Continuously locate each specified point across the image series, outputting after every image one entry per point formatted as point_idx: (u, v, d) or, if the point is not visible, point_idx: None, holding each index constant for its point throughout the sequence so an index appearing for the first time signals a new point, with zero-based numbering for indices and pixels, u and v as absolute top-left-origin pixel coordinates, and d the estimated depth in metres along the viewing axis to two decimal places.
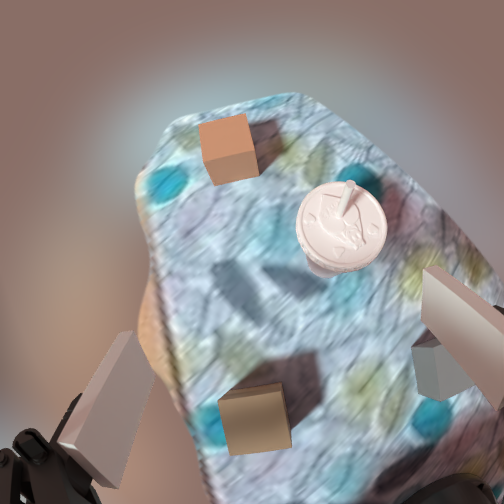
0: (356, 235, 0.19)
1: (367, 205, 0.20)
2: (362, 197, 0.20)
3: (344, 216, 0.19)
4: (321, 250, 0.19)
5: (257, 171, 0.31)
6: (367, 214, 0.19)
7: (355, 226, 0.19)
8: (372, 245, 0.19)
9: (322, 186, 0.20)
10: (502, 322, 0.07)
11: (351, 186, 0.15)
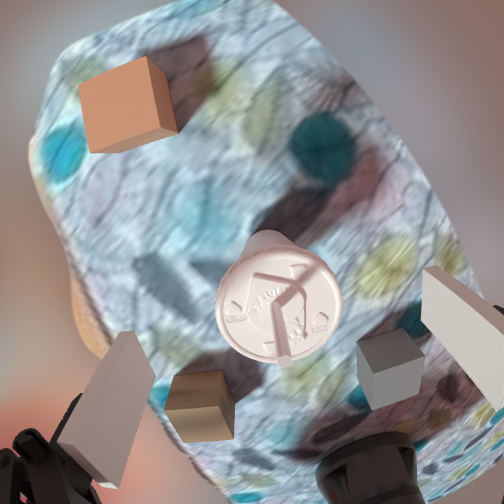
0: (295, 332, 0.14)
1: (319, 287, 0.14)
2: (314, 276, 0.14)
3: (282, 309, 0.14)
4: (248, 345, 0.15)
5: (174, 133, 0.20)
6: (317, 300, 0.14)
7: (296, 320, 0.14)
8: (315, 338, 0.15)
9: (254, 260, 0.14)
10: (502, 322, 0.07)
11: (285, 361, 0.10)
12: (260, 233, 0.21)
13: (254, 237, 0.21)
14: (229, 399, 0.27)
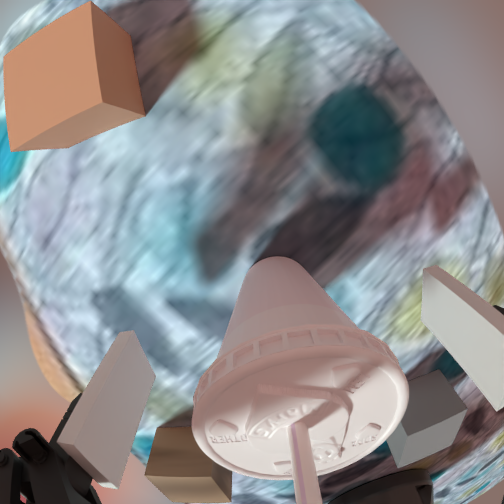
0: (327, 452, 0.07)
1: (377, 393, 0.07)
2: (371, 379, 0.07)
3: (309, 430, 0.07)
4: (248, 466, 0.08)
5: (136, 114, 0.12)
6: (368, 410, 0.07)
7: (330, 440, 0.07)
8: (355, 451, 0.08)
9: (262, 362, 0.06)
10: (502, 322, 0.07)
11: None
12: (266, 265, 0.14)
13: (257, 273, 0.14)
14: None
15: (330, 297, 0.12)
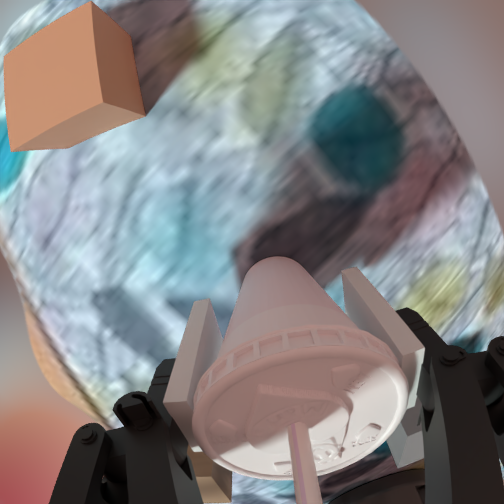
0: (327, 452, 0.07)
1: (377, 394, 0.07)
2: (372, 379, 0.07)
3: (309, 431, 0.07)
4: (248, 466, 0.08)
5: (136, 114, 0.12)
6: (369, 410, 0.07)
7: (330, 441, 0.07)
8: (355, 451, 0.08)
9: (262, 362, 0.06)
10: (395, 325, 0.09)
11: None
12: (266, 265, 0.14)
13: (258, 273, 0.14)
14: None
15: (330, 297, 0.11)
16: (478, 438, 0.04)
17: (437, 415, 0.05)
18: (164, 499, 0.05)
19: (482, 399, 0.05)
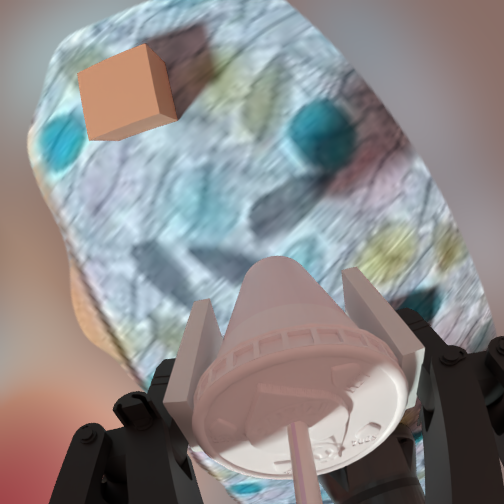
0: (327, 451, 0.07)
1: (377, 393, 0.07)
2: (371, 378, 0.07)
3: (309, 430, 0.07)
4: (248, 465, 0.08)
5: (173, 120, 0.19)
6: (368, 409, 0.07)
7: (330, 440, 0.07)
8: (355, 450, 0.08)
9: (262, 361, 0.06)
10: (395, 324, 0.09)
11: None
12: (266, 265, 0.14)
13: (257, 272, 0.14)
14: None
15: None
16: (478, 438, 0.04)
17: (437, 415, 0.05)
18: (164, 499, 0.05)
19: (482, 399, 0.05)
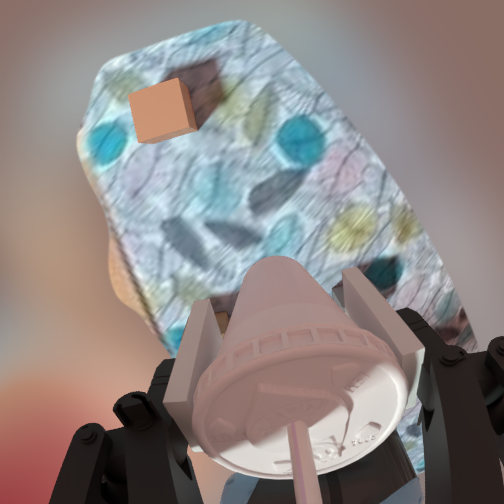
0: (327, 451, 0.07)
1: (377, 392, 0.07)
2: (372, 378, 0.07)
3: (309, 429, 0.07)
4: (248, 465, 0.08)
5: (195, 130, 0.28)
6: (368, 409, 0.07)
7: (330, 439, 0.07)
8: (355, 450, 0.08)
9: (262, 361, 0.06)
10: (395, 324, 0.09)
11: None
12: (266, 264, 0.14)
13: (257, 272, 0.14)
14: None
15: None
16: (478, 438, 0.04)
17: (437, 415, 0.05)
18: (163, 499, 0.05)
19: (482, 399, 0.05)
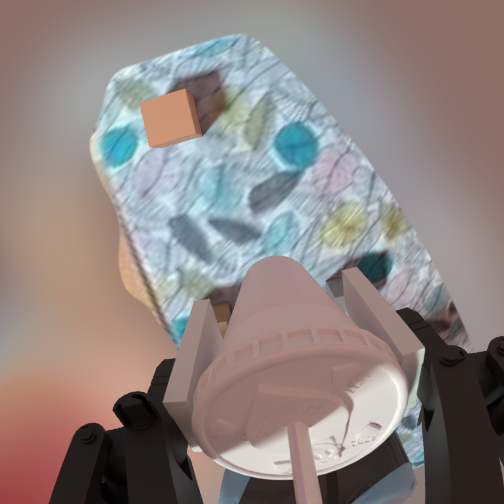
0: (327, 452, 0.07)
1: (377, 393, 0.07)
2: (371, 379, 0.07)
3: (309, 430, 0.07)
4: (248, 465, 0.08)
5: (200, 135, 0.32)
6: (369, 409, 0.07)
7: (330, 440, 0.07)
8: (355, 450, 0.08)
9: (262, 361, 0.06)
10: (395, 324, 0.09)
11: None
12: (266, 264, 0.14)
13: (257, 272, 0.14)
14: None
15: None
16: (478, 438, 0.04)
17: (437, 415, 0.05)
18: (163, 499, 0.05)
19: (482, 399, 0.05)
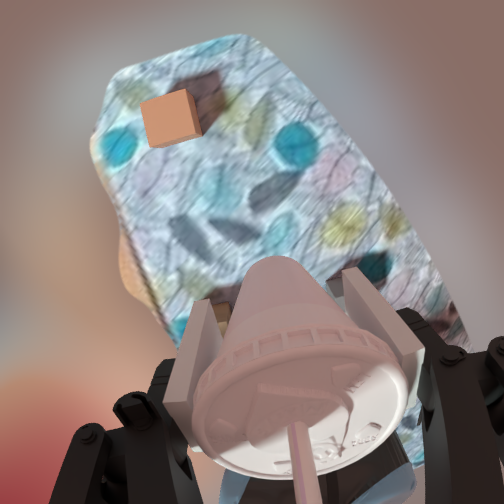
0: (327, 452, 0.07)
1: (377, 393, 0.07)
2: (371, 379, 0.07)
3: (309, 430, 0.07)
4: (248, 465, 0.08)
5: (200, 135, 0.32)
6: (368, 409, 0.07)
7: (330, 440, 0.07)
8: (355, 450, 0.08)
9: (261, 361, 0.06)
10: (395, 325, 0.09)
11: None
12: (266, 264, 0.14)
13: (257, 272, 0.14)
14: None
15: None
16: (478, 438, 0.04)
17: (437, 415, 0.05)
18: (163, 499, 0.05)
19: (482, 399, 0.05)
